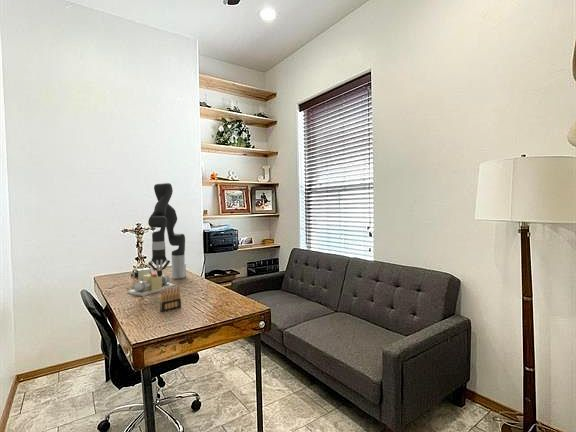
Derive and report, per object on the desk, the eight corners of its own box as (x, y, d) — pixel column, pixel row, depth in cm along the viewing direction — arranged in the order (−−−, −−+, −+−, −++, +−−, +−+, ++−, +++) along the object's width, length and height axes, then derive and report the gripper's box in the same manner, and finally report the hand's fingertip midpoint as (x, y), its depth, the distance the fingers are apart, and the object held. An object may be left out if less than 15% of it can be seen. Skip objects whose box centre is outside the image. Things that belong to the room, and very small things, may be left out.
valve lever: (149, 272, 207) (149, 269, 207) (154, 272, 209) (154, 269, 209) (151, 277, 193) (151, 274, 193) (157, 276, 195) (157, 273, 195)
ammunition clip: (161, 312, 162) (161, 289, 162) (159, 311, 164) (159, 288, 163) (181, 307, 170) (180, 285, 170) (179, 307, 171) (179, 284, 171)
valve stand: (161, 284, 222) (161, 268, 221) (176, 286, 215) (175, 270, 215) (127, 293, 199) (126, 276, 198) (142, 296, 192) (142, 278, 192)
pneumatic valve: (153, 284, 222) (152, 266, 221) (135, 286, 214) (134, 269, 214) (150, 282, 226) (150, 265, 226) (132, 285, 218) (132, 267, 218)
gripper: (169, 247, 203) (170, 274, 203) (146, 248, 197) (147, 276, 198) (170, 248, 196) (171, 276, 197) (147, 250, 190) (148, 279, 191)
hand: (159, 276), depth 197 cm, fingers closed
